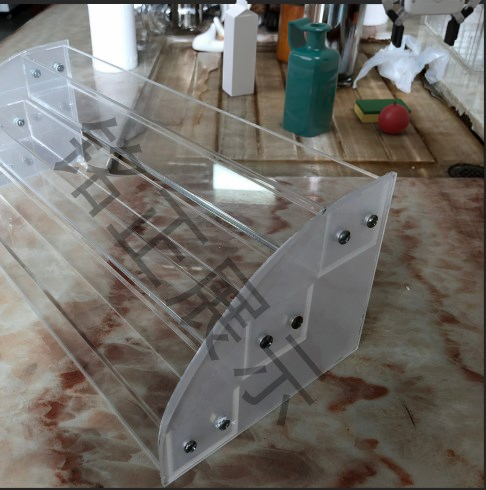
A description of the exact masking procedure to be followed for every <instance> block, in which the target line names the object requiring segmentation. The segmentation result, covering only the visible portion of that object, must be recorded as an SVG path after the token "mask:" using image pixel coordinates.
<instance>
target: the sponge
mask: <svg viewBox="0 0 486 490" xmlns="http://www.w3.org/2000/svg"><path fill="white" fill-rule="evenodd" d="M394 101H396V104H399V105H402V106H404V107H405V108H406V109H407V110H408V112H409V114H410V115H411V112H412V109H411V108H410V107H409V106H408V105H407V104H406V103H405V102H404V100H403V99H402V98H374V99H373V98H371V99H367V98H365V99H355V103H354V112H355V114H356V116H357V118H358V119H359V120H360V121H361V123H363V124H364V123H366V124H367V123H378V117H379V114H380V112H381V111H382V110H383V109H384V108H385V107H386V106H388V105H391V104H394Z"/></svg>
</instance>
